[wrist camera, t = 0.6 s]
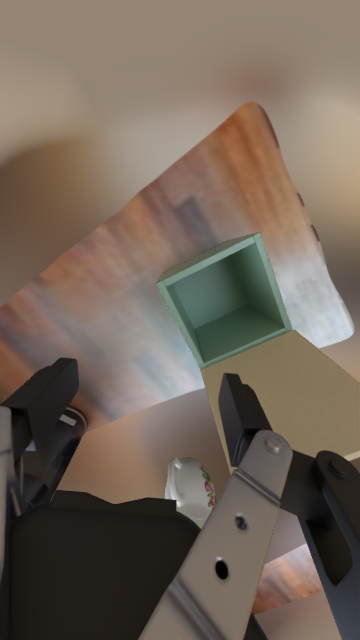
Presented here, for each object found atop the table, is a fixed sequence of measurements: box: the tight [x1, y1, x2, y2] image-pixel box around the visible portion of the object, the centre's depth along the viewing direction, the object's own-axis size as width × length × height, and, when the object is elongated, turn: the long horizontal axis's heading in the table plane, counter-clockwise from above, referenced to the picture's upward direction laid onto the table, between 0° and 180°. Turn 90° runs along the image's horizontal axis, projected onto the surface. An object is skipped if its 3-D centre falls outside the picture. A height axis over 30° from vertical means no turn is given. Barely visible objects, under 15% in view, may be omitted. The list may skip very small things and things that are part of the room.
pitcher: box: [164, 458, 216, 529], centre depth 44 cm, size 11×18×14 cm, turn 25°
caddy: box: [156, 232, 292, 370], centre depth 31 cm, size 13×13×14 cm
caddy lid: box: [201, 330, 360, 474], centre depth 20 cm, size 13×13×1 cm
